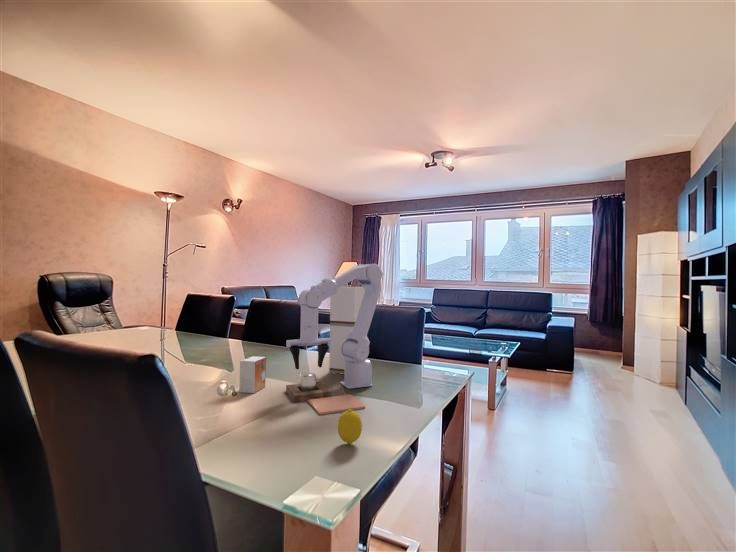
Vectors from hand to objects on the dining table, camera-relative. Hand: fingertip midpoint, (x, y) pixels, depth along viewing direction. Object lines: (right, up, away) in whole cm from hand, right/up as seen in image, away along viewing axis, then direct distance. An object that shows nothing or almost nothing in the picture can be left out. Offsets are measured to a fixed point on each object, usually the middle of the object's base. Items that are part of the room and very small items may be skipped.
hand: (308, 367), depth 119 cm
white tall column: (+11, -10, +31) cm, 34 cm away
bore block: (0, -9, 0) cm, 9 cm away
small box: (-20, -9, +4) cm, 22 cm away
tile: (+10, -9, -10) cm, 16 cm away
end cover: (0, -9, 0) cm, 9 cm away
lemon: (+15, -9, -36) cm, 40 cm away
